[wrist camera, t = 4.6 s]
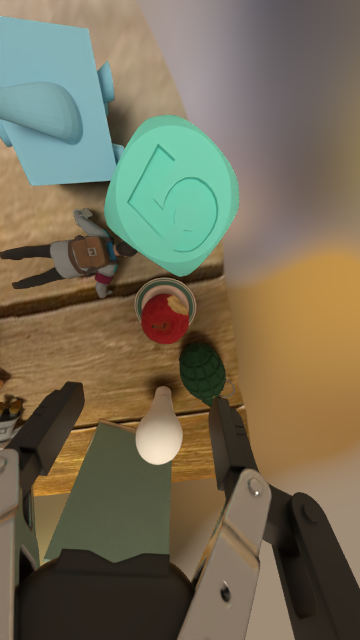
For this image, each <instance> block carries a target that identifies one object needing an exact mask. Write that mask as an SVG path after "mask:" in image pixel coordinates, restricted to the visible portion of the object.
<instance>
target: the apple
mask: <svg viewBox="0 0 360 640" xmlns="http://www.w3.org/2000/svg"><path fill="white" fill-rule="evenodd" d="M134 306H135V312H136V315H137V317H138V319H139V321H140V322H141V326H142V328H143V331H144V333H145V334H146V335H147V337H148V338H150V339H151V340H153V341H155V342H157V343H161V344H172V343H174V342H176V341H178V340H179V339H180V338H181V337H182V336H184V334H185V333H186V331H187V330H188V326H189V324H190V323H191V322H192V320H193V318H194V316H195V313H196V301H195V298H194V295H193V293H192V292H191V290H190V289H189V288H188V287H187V286H186V285H185V284H183V283H182V282H180V281H178V280H175V279H172V278H157V279H154V280H151V281H149V282H147V283H146V284H145V285H144V286H142V287H141V289H140V290H139V291H138V293H137V295H136V298H135V304H134Z"/></svg>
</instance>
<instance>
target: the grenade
mask: <svg viewBox="0 0 360 640" xmlns="http://www.w3.org/2000/svg"><path fill="white" fill-rule="evenodd" d="M179 361H180V376H181V379H182V382H183V385H184V386H185V387H186V389H187V390H188V391H189V392H190V393H191V394H192V395H193V396H195V397H196V398H198V399H201V400H202V402H203V403H205V404H207V405H208V406H210V407H211V406H212V403H213V400H214V398H221V397H229V396H231V395H232V394H233V393H234V391H235V388H234V385H233V384H232V383H231V382H230V381H228V380H226V377H225V376H226V373H225V368H224V365H223V362H222V360H221V359H220V357H219V356H218V354H217V353H216V352H215V351H214V350H213V349H212V348H211V347H210V346H208V345H206V344H203V343H200V342H198V343H193V344H191V345H188V346H187V347H186V348H185V349H184V350H183V351H182V354H181V357H180V358H179ZM225 380H226V381H228V382H230V383H231V384H232V385H233V388H234V390H233V393H232V394H231V395H229V396H221V395H219V394H221V391H223V388H224V385H225ZM218 395H219V396H221V397H219V396H218Z"/></svg>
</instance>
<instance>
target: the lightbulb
mask: <svg viewBox="0 0 360 640" xmlns="http://www.w3.org/2000/svg"><path fill="white" fill-rule="evenodd" d="M182 437H183V432H182V428H181V424H180V422H179V420H178V418H177V417H176V415H175V413H174V411H173V405H172V400H171V390H170V389H169V388H168V387H166V386H160V387H158V388H157V389H156V392H155V398H154V399H153V401H152V405H151V408H150V410H149V412H148V413H147V414H146V415H145V416H144V417H143V419H142V420H141V421H140V423H139V425H138V428H137V431H136V447H137V449H138V452H139V454H140V455H141V457H142V458H143V459H144V460H146V461H147V462H149V463H151V464H155V465H160V464H164V463H167V462H169V461H170V460H172V459H173V458H174V457H175V455H176V454H177V453H178V451H179V449H180V447H181V444H182Z"/></svg>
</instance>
